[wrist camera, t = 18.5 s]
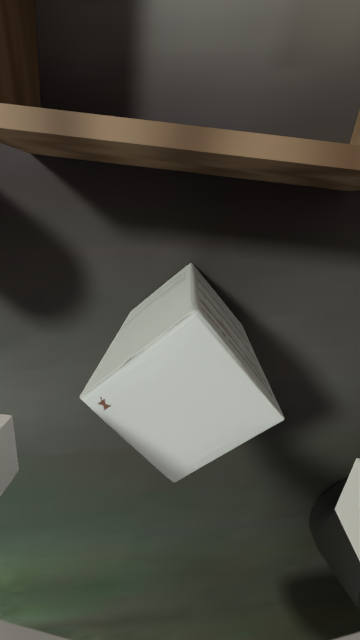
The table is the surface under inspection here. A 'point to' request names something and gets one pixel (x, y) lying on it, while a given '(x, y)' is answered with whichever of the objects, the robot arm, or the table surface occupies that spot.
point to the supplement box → (182, 379)
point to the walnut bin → (151, 129)
